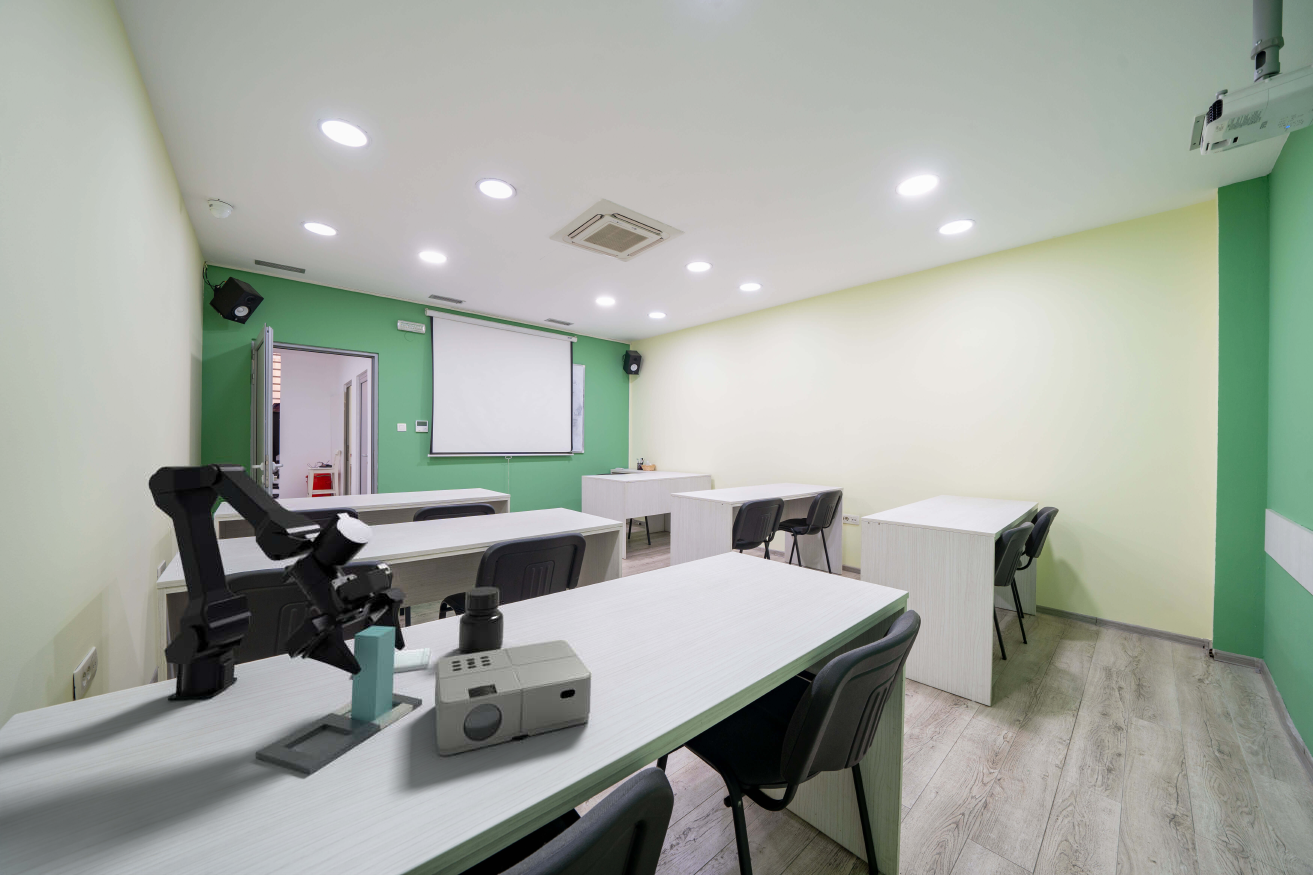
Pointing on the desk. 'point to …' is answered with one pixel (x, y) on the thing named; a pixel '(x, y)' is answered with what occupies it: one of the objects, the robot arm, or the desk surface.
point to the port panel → (337, 723)
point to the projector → (509, 695)
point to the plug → (373, 673)
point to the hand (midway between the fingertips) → (382, 659)
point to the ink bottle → (481, 621)
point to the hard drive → (411, 660)
